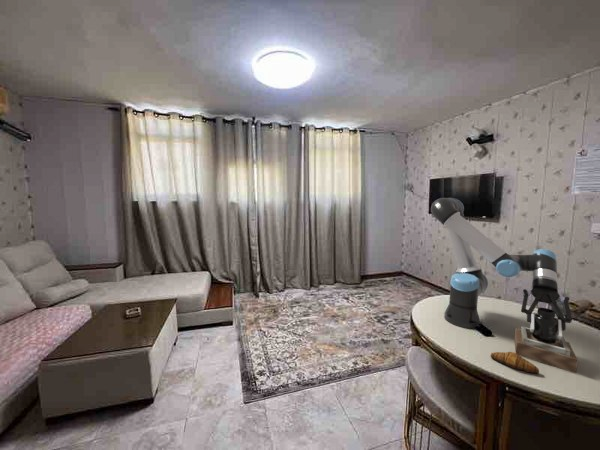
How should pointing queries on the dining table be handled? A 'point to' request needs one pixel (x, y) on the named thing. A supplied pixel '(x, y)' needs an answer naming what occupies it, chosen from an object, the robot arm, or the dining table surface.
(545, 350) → the walnut tray
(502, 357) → the croissant
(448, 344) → the dining table surface
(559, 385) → the dining table surface
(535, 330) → the supplement bottle
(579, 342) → the dining table surface
